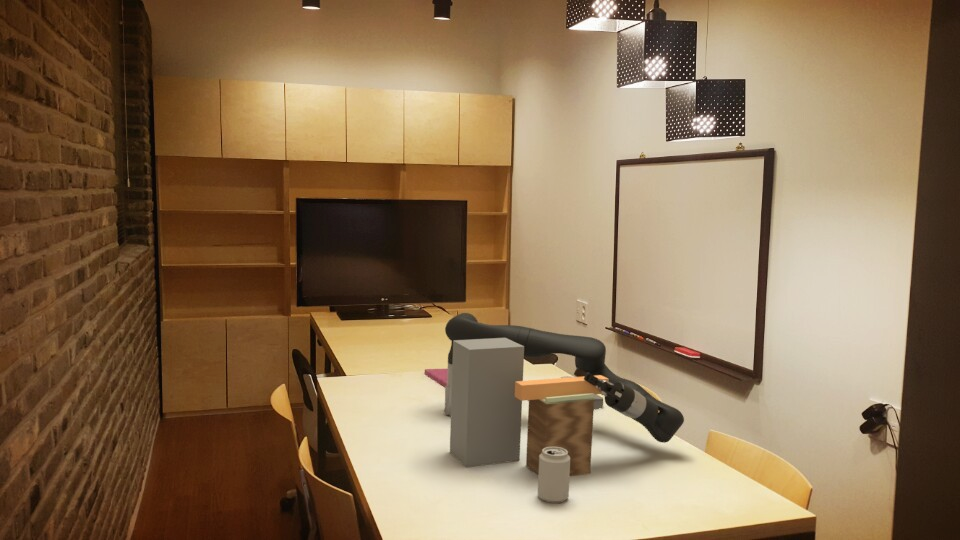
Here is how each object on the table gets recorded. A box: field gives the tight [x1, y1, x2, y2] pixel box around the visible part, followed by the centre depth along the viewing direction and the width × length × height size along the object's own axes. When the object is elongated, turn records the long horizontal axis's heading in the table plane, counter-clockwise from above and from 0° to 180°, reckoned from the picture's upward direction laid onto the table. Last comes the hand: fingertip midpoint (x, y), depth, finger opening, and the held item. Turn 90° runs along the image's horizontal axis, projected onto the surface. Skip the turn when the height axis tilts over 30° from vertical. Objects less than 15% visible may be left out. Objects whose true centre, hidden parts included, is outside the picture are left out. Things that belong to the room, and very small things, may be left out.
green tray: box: [539, 393, 594, 404], centre depth 195 cm, size 14×10×2 cm
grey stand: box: [449, 338, 525, 468], centre depth 203 cm, size 16×12×32 cm
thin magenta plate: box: [424, 368, 448, 388], centre depth 281 cm, size 40×4×27 cm
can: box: [537, 447, 570, 504], centre depth 178 cm, size 8×8×12 cm
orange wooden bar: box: [515, 375, 609, 402], centre depth 194 cm, size 26×4×4 cm, turn 113°
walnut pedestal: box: [525, 399, 595, 477], centre depth 196 cm, size 14×10×20 cm
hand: (581, 373), depth 196 cm, fingers open, 4 cm apart
